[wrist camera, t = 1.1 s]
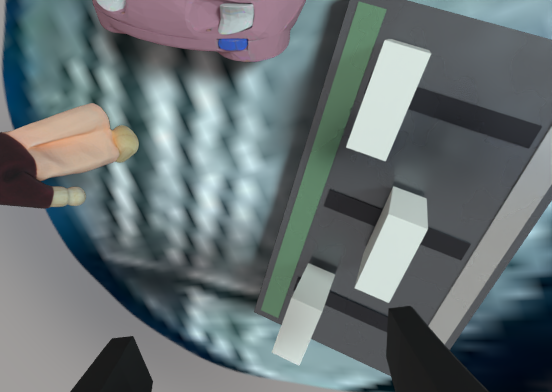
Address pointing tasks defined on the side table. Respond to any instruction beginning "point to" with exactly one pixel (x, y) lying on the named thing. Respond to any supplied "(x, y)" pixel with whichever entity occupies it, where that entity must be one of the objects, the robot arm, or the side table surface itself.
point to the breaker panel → (419, 174)
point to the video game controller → (206, 24)
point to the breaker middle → (392, 244)
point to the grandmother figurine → (59, 155)
